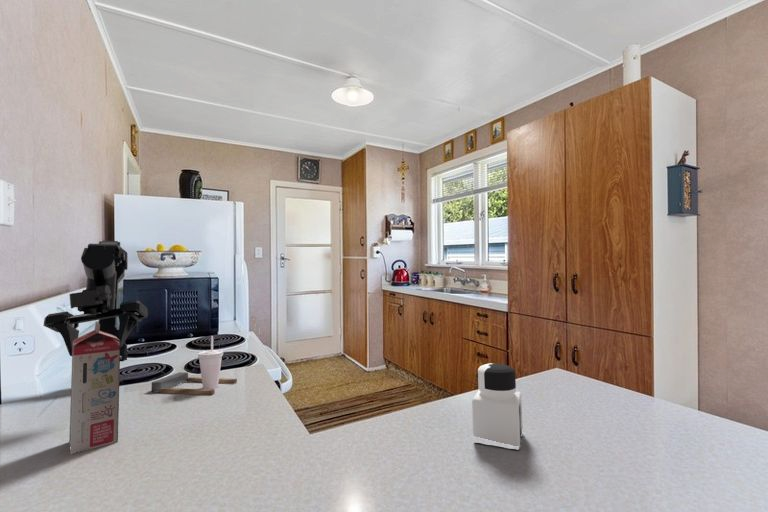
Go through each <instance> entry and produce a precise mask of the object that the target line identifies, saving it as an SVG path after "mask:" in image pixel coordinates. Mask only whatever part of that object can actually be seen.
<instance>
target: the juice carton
mask: <svg viewBox="0 0 768 512" xmlns="http://www.w3.org/2000/svg"><path fill="white" fill-rule="evenodd" d="M120 357H121V356H120V340H119V339H118V338H117V337H116V336H114V335H111V334H108V333H105V332H102V331H100V324H99V321H98V320H95V325H94V329H93V330H91V331H88V333H85V334H83V335H81V336H78V338H77V339H75V340H74V341H73V348H72V356H71V377H70V378H71V381H70V383H71V384H70V385H71V386H70V409H69V410H70V411H69V412H70V415H69V440H68V442H69V448H70V447H71V452H70V451H69V454H71V455H73V453H74V454H77V453H76V452H78V453H81V452H80V451H82V452H85V451H84V450H86V451H89V450H88V449H90V450H93V449H96V448H101V447H105V446H109V445H111V444H116V443H118V442H119V409H120V407H119V405H120V383H119V379H121V377H120V375H121V374H120V371H121V367H120V366H121V361H120Z"/></svg>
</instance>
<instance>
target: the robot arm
mask: <svg viewBox="0 0 768 512" xmlns="http://www.w3.org/2000/svg"><path fill="white" fill-rule="evenodd" d="M128 259H129V258H128V252H127V250H125V249H123V248H122V246H121V241H118V240H102V241H99V242H98V243H88V244H87V247H84V248H83V251H82V254H81V257H80V262H81V264H82V265H83V269H84V274H85V276H86V286H85V289H82V291H79V292H75V293H74V292H73V293H69V304H70V305H69V306H70V309H75V308H77V311H78V312H80V313H81V312H82V314H75V315H74V314H72V313H70V312H69V311H60V312H55V313H48V314H47V315H46V316H45V317H44V319H43V327H46V328H47V329H49V330H52V331H53V332H56V333H59V334H60V335H61V336H62V339H63V342H64V344H65V346H66V349H67V353H68V355H69V356H70V357H72V348H73V341H74V340H75V339H77V338H79V335H80V330H79V329H78V328H79V324H82V323H87V322H92V321H93V322H94V321H95V322H96V321H98V323H99V324H100V331H102V332H105V333H108V334H111V335H114V336H116V337H117V338H118V339H119V340H120V362H124V361H127V360H128V345H127V344H126V340H127V339H128V337H129V335H130V333H131V332H132V331H133V329H134V328H135V326H136V325H137V324H138V323H140V322H142V320H143V319H146V318H148V315H149V314H148V313H149V310H148V307H147V306H146V305H144V304H143V303H142V302H141V301H140V300H131V301H125V302H124V301H123V302H121V303H120V304H119V307H118V296H119V295H118V294H119V284H120V282H121V281H122V280H123V279H124V278H125V272H126V271H127V270H128V268H129V267H128V266H129V265H128V262H129V261H128ZM117 319H118V320H119V321H118V322H119V323H118V324H119V325H118V327H117ZM123 381H124V380H123V379H121V378H119V384H120V383H123Z"/></svg>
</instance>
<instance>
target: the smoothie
mask: <svg viewBox="0 0 768 512" xmlns="http://www.w3.org/2000/svg"><path fill="white" fill-rule="evenodd" d="M223 355H224V351H223V350H222V349H221V350H220V349H214V336H213V335H211V336H210V350H204V351H201V352H198V354H197V358H198V360H199V367H200V375H201V377H200V378H202V382H201V384H202V389H208V390H215V389H217V388H219V383H218V382H219V378H220V372H221V366H222V358H223Z"/></svg>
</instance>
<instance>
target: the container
mask: <svg viewBox="0 0 768 512" xmlns="http://www.w3.org/2000/svg"><path fill="white" fill-rule="evenodd" d="M477 377H478V378H477V380H478V381H477V382H478V385H477V386H478V387H477V388H478V390H477V391H476V393H475V394H474V396H473V398H472V400H471V404H472V405H471V407H472V433H473V434H472V437H473V436H476V437H480V438H484V439H488V440H492V441H496V442H500V443H504V444H510V445H513V446H520V447H521V445H520V441H521V442H522V440H521V435H522V436H523V434H522V429H523V428H524V427H523V407H522V405H523V404H522V393H521V391H517V383H516V382H517V381H516V370H515V369H514V368H513V367H512V366H510V365H507V364H503V363H496V362H495V363H492V362H491V363H490V362H489V363H485V364H482V365H479V367H478V369H477ZM523 430H524V429H523Z"/></svg>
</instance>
